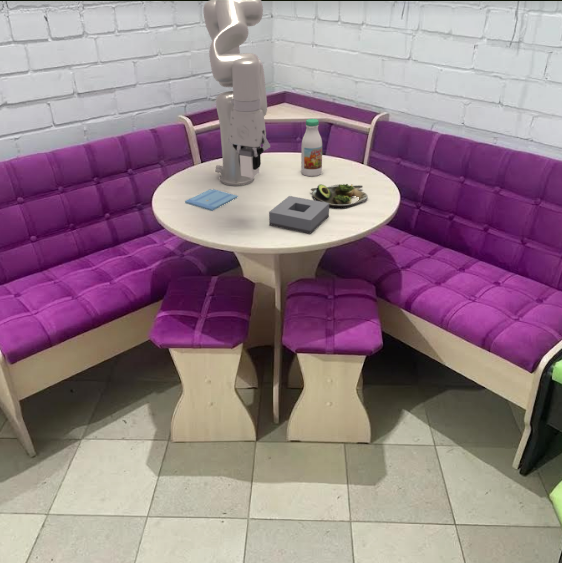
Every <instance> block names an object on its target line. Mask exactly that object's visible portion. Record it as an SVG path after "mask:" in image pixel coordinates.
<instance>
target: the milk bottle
mask: <svg viewBox="0 0 562 563" xmlns="http://www.w3.org/2000/svg"><path fill="white" fill-rule="evenodd" d="M319 124H320V122H319V119H317V118H308V119H306V120H305V127H306V129H305V131H304V132H305V133H304V134H303V137H302V140H301V158H300V160H301V161H300V162H301V163H300V165H301V166H300V168H301V170H300V172H301V174H302V175H303V176H307V177H316V176H320V175H321V174H322V172H323V171H322V170H323V140H322V136H321V134H320V132H319Z"/></svg>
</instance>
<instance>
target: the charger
mask: <svg viewBox="0 0 562 563" xmlns="http://www.w3.org/2000/svg"><path fill="white" fill-rule="evenodd" d="M239 155H240V167H241V176H245V177H251V178H253V177H254V178H255V177H256V176H257V175H258V174H260V167H259V168H257V169H256V170H254V169H253V156H254V153H253V148H252V147H246V146H245V147H243V148H242V149H240V150H239Z"/></svg>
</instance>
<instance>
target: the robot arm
mask: <svg viewBox="0 0 562 563" xmlns="http://www.w3.org/2000/svg"><path fill="white" fill-rule="evenodd" d="M263 8H264V7H263V3H262V0H208V1H206V2H205V3H204V5H203V18H204V19H203V20H204V24H205V27H206V30H207V32H208V35H209V37H210V39H211V43H210V44H209V45H210V46H209V52H208V58H209V62H210V69H211V73H212V74H211V75H212V76H213V79H214V80H215V81H217V82H218V83H219V85H220V86H221V87H224V88H232V90H229V91H224V92H221V93H219V94H218V96H216V99H215V108H216V111H217V117H218V122H219V129H220V141H221V142H220V143H221V155H222V156H221V158H222V165H220V164H217V165H216V166H215V170H214V171H215V173H220V176H219V182H220V183H221V184H223V185H226V186H231V187H232V186H234V187H236V186H237V187H239V186H244V185H245V186H246V185H248V184H251V183H252V182H254V179H255V176H254V177H253V178H251V177H245V176H241V167H240V155H239V150H240V149H242V148H243V147H245V146H246V147H252V148H253V153H254V156H253V169H254V170H256V169H257V168H259V169H260V167H261V164H262V163H261V161H262V160H261V155H262V154H263V153H264V152H265V151H267V150H268V149H270V148H271V144H270V143H269V141H268V139H267V131H266V122H265V117H266V116H267V114H268V112H267V111H268V101H267V100H268V99H267V98H268V97H267V91H266V90H267V87H266V81H265V70H264V66H263V62H262V60H261V59H260V58H259V57H258V55H257V54H256V53H253V52H252V53H251V52H246V53H241V50H240V46H242V45H243V44H244V43H245V42H246V41H247V39H248V37H249V27H253V26H255V25H257V24H259V23H260V22H261V21H262V19H263V14H264V13H263V12H264V9H263Z"/></svg>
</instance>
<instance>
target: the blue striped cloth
mask: <svg viewBox="0 0 562 563" xmlns="http://www.w3.org/2000/svg"><path fill="white" fill-rule="evenodd" d="M237 197H238V198H239V195H236V194H233V193H228V192H226V191H221V190H218V189H214V188H213V189H211V188H210V189H207V190H205V191H203V192H201V193H198V194H197V195H195V196H193V197H190V198H189V199H186V200H184V202H185V203H184V204H188V205H191V206H194V207H197V208H199V209H203V210H207V211H210V212H213V211H215V210H218V209H219V208H221V207H223V206H225V205H227V204H229V203H231V202H232V200H233V199H234V200H236V199H238V198H237ZM235 198H236V199H235ZM234 200H233V201H234ZM230 201H231V202H230ZM228 202H229V203H228ZM226 203H227V204H226ZM224 204H225V205H224ZM222 205H223V206H222ZM220 206H221V207H220Z"/></svg>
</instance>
